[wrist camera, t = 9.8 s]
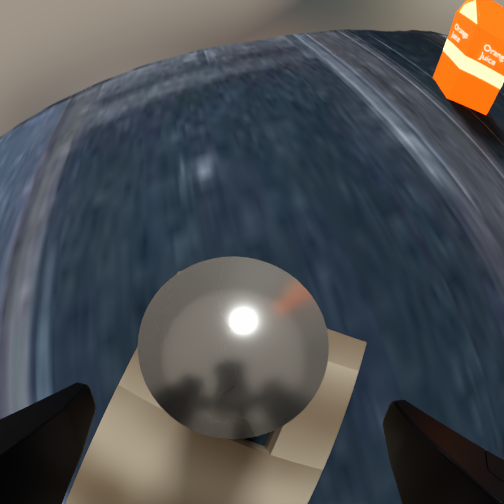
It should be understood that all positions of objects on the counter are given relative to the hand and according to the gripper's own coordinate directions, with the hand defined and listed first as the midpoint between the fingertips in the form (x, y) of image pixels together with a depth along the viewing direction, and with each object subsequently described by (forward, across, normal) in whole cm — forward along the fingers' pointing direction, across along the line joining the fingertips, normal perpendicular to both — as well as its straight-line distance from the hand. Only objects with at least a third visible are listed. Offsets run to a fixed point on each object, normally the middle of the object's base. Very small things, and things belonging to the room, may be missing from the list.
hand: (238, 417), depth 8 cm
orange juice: (+37, -34, -24) cm, 56 cm away
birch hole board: (+4, +2, +9) cm, 10 cm away
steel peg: (+7, 0, +5) cm, 9 cm away
